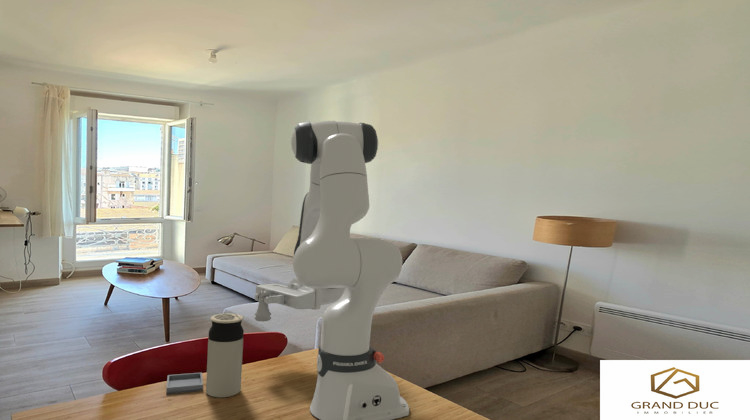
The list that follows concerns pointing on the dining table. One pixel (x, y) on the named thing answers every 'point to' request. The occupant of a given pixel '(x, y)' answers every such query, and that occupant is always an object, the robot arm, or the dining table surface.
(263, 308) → the rook chess piece
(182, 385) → the tray
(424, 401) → the dining table surface
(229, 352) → the travel mug
